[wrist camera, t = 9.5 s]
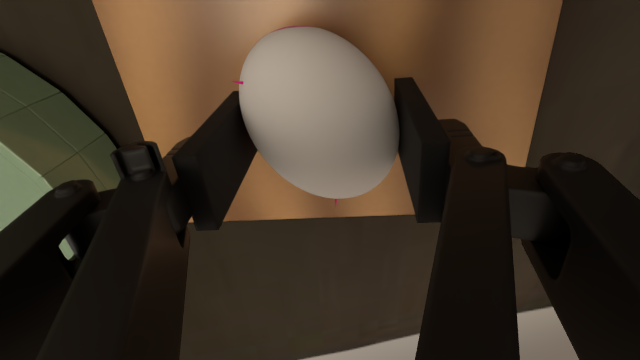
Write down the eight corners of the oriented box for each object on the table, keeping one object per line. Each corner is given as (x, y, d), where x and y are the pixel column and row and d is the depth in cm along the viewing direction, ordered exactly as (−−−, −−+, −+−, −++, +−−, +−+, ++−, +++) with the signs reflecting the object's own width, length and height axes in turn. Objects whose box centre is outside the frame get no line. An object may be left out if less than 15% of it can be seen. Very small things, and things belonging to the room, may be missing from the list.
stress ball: (261, 44, 19) (169, 115, 16) (366, -47, 13) (251, 37, 10) (340, 150, 22) (276, 231, 18) (459, 118, 16) (395, 230, 12)
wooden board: (580, -104, 13) (587, -107, 13) (511, 206, 20) (515, 211, 20) (82, -43, 15) (75, -43, 15) (179, 218, 22) (175, 223, 22)
